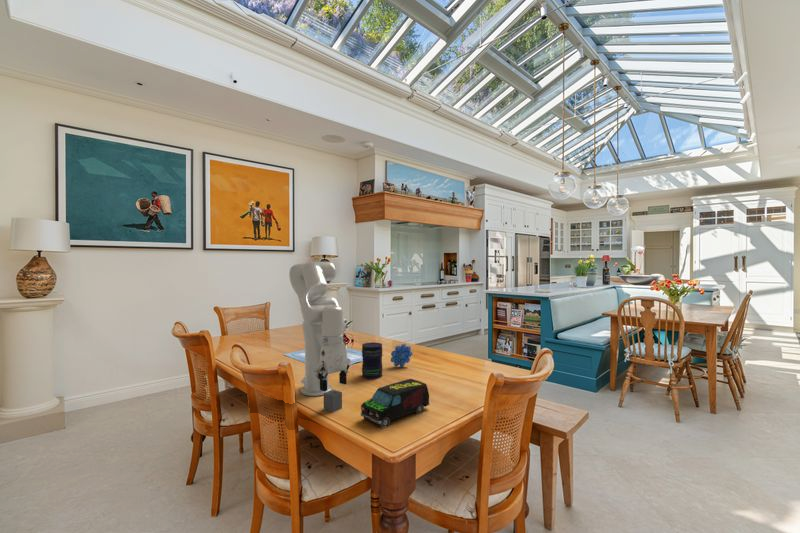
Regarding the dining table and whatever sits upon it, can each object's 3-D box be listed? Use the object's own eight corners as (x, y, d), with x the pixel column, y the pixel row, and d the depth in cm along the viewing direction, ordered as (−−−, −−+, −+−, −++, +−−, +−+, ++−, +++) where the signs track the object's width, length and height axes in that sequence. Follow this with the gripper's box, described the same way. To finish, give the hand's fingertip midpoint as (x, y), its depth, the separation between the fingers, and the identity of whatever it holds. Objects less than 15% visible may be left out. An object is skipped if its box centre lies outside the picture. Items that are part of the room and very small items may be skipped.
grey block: (323, 409, 131) (323, 393, 131) (332, 405, 135) (332, 389, 135) (333, 412, 128) (333, 395, 128) (342, 408, 132) (341, 392, 132)
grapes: (410, 363, 190) (410, 341, 190) (413, 367, 183) (413, 344, 183) (389, 365, 188) (389, 342, 188) (391, 368, 181) (391, 345, 181)
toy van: (359, 420, 122) (359, 391, 122) (410, 401, 138) (410, 375, 138) (378, 431, 114) (378, 399, 114) (431, 409, 131) (431, 382, 131)
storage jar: (380, 379, 164) (380, 347, 164) (359, 378, 166) (359, 346, 166) (384, 373, 174) (384, 342, 174) (364, 372, 175) (364, 342, 175)
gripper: (321, 345, 122) (322, 395, 121) (356, 337, 136) (357, 382, 135) (307, 343, 126) (308, 391, 126) (342, 335, 140) (343, 379, 140)
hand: (333, 387), depth 130 cm, fingers open, 9 cm apart
